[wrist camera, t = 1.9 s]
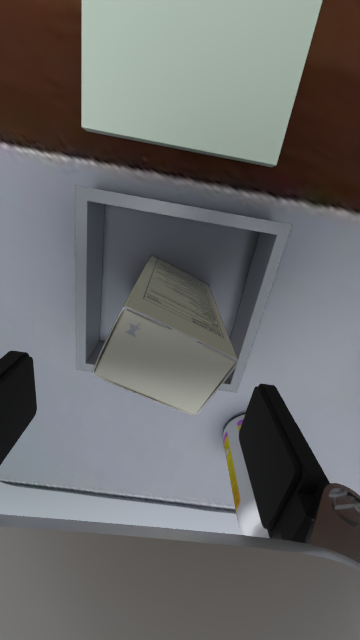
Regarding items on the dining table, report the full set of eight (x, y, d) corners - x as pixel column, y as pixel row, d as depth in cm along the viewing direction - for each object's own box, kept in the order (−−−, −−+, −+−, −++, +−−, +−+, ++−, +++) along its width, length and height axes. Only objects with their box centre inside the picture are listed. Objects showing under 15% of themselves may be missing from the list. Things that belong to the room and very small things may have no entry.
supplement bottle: (247, 457, 32) (283, 600, 20) (210, 432, 30) (227, 572, 19) (288, 429, 30) (355, 571, 18) (252, 401, 28) (300, 537, 17)
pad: (324, -26, 15) (334, -41, 14) (271, 167, 19) (276, 165, 18) (88, -83, 14) (81, -103, 13) (86, 131, 18) (81, 127, 17)
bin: (273, 221, 20) (292, 224, 17) (229, 367, 26) (236, 392, 23) (95, 189, 20) (74, 185, 16) (91, 346, 26) (76, 369, 22)
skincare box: (131, 294, 23) (81, 374, 12) (151, 253, 22) (116, 300, 10) (190, 324, 24) (195, 422, 13) (214, 287, 23) (242, 363, 12)
